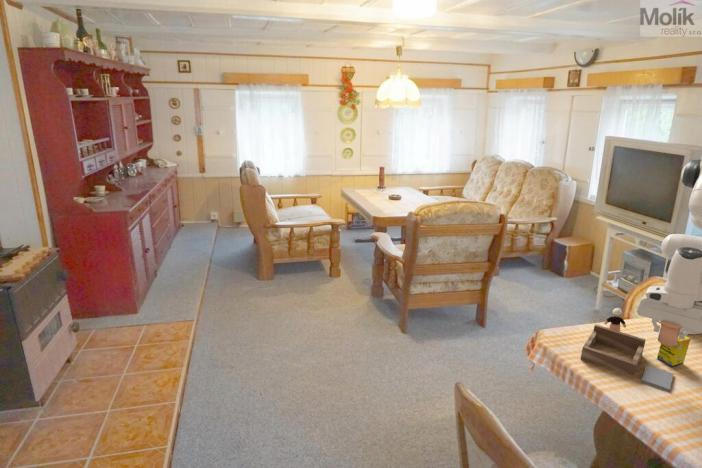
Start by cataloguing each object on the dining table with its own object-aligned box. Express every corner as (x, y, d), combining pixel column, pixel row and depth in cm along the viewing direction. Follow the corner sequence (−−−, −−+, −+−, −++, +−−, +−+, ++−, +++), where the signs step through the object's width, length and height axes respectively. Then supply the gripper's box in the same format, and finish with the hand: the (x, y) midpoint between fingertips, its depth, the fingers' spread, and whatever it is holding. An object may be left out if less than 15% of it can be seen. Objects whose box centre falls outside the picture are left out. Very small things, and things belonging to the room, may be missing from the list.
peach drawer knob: (657, 334, 155) (662, 314, 153) (679, 341, 152) (684, 320, 149) (654, 342, 151) (659, 321, 148) (676, 349, 147) (682, 327, 144)
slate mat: (646, 367, 162) (647, 364, 162) (673, 375, 158) (673, 373, 157) (640, 381, 155) (641, 379, 154) (668, 391, 150) (669, 389, 149)
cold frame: (592, 339, 179) (595, 324, 177) (641, 355, 169) (645, 339, 167) (580, 359, 167) (583, 342, 165) (633, 377, 157) (637, 360, 154)
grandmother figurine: (619, 334, 183) (626, 306, 179) (624, 339, 179) (630, 311, 175) (600, 333, 184) (605, 305, 180) (604, 338, 180) (609, 310, 176)
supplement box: (656, 358, 167) (662, 332, 164) (667, 355, 169) (674, 329, 166) (672, 367, 162) (679, 341, 159) (683, 364, 164) (691, 338, 161)
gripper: (719, 303, 142) (708, 341, 146) (644, 285, 154) (635, 321, 159) (718, 310, 137) (706, 350, 142) (640, 291, 150) (632, 328, 154)
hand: (668, 334), depth 150 cm, fingers closed on peach drawer knob, 6 cm apart
